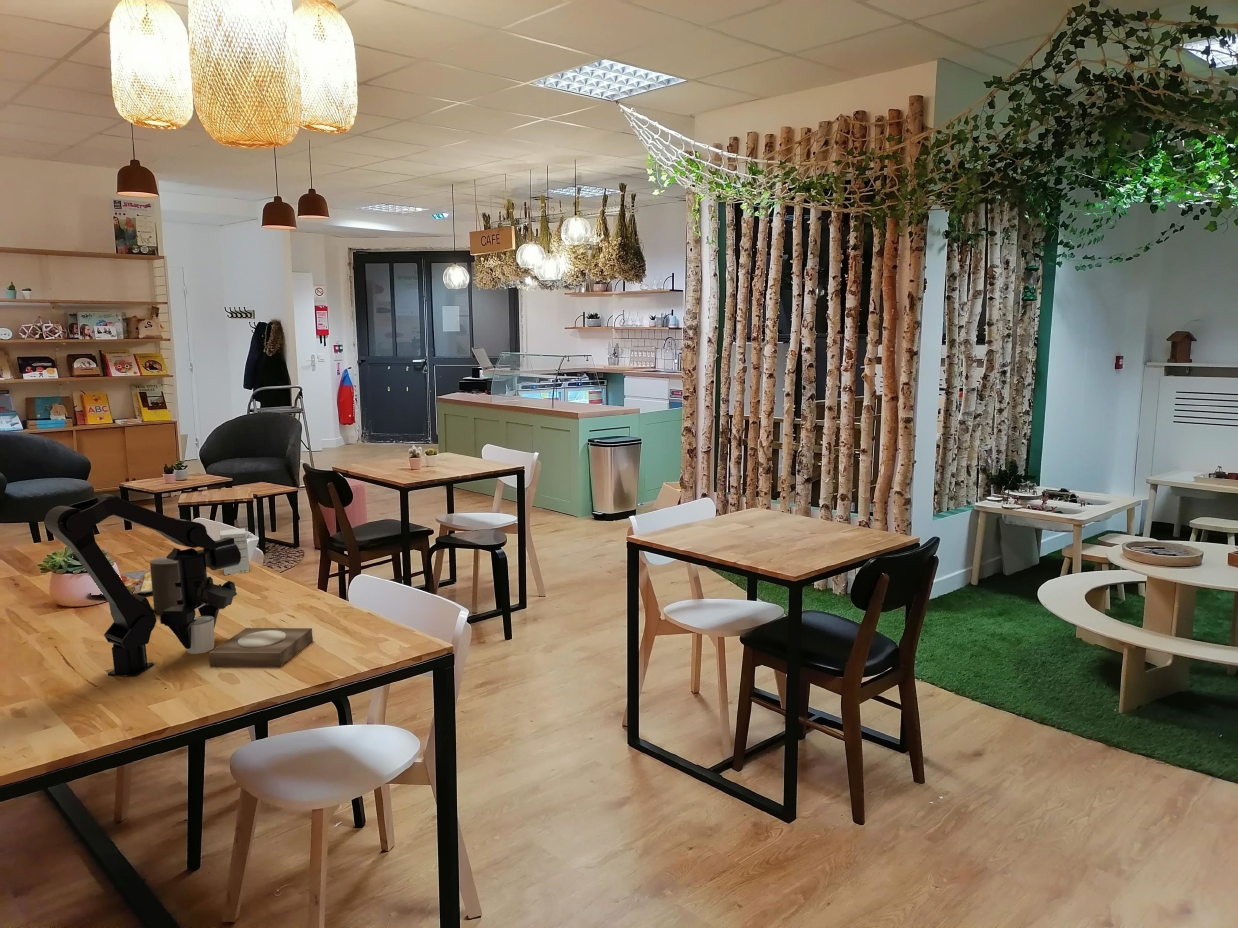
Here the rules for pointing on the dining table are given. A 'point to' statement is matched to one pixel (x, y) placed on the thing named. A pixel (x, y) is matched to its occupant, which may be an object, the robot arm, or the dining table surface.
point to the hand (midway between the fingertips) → (199, 641)
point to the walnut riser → (261, 647)
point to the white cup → (202, 635)
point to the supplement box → (241, 543)
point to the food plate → (138, 581)
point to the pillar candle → (164, 583)
